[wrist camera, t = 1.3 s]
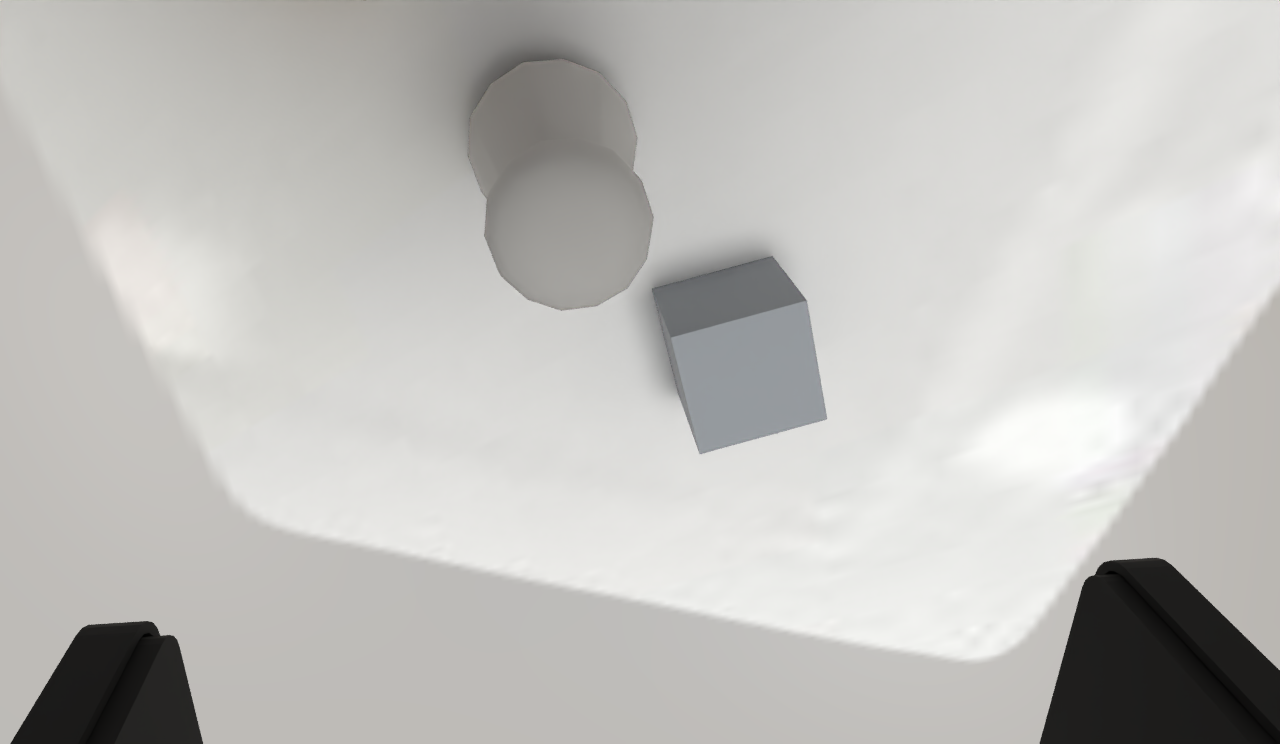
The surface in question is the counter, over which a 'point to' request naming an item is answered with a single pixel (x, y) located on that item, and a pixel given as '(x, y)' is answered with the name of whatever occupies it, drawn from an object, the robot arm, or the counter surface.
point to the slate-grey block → (741, 353)
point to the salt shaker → (560, 184)
